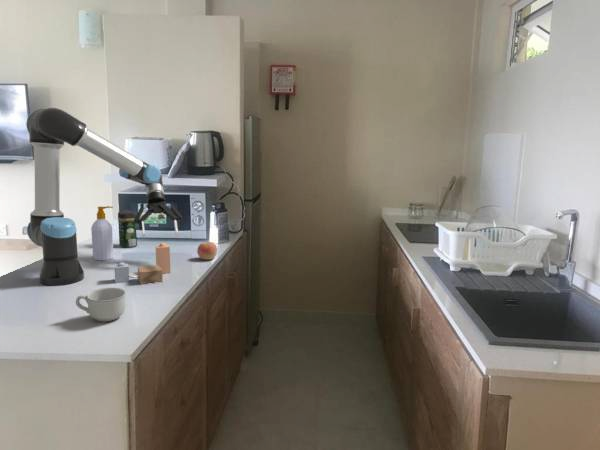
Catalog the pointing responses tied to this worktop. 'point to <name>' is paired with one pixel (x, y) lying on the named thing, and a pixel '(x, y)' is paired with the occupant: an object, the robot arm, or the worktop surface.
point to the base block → (149, 274)
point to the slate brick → (121, 272)
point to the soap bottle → (102, 237)
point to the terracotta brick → (163, 257)
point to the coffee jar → (127, 229)
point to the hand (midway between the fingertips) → (160, 234)
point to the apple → (207, 250)
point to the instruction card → (133, 274)
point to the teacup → (104, 303)
